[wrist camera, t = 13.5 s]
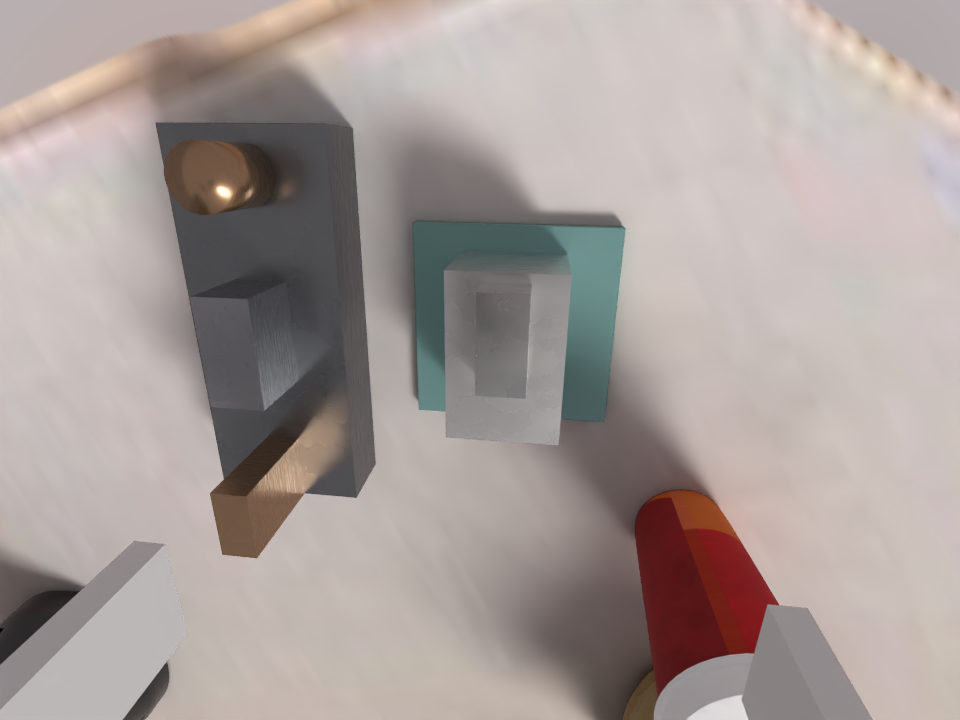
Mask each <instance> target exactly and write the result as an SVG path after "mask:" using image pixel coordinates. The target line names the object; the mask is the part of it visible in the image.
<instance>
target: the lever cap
mask: <svg viewBox="0 0 960 720" xmlns="http://www.w3.org/2000/svg"><path fill="white" fill-rule="evenodd" d="M571 279H572V274H571V269H570V264H569V259H568V254H563V253H533V252H502V251H472V250H463V251H462V252H461V253H460V254H459V255H458V256H457V257H456V258H455V259H454V260H453V261H452V263H451V264H450V265H449V266H448V267H447V268H446V269H445V270H444V316H445V399H446V437H449V438H463V439H476V440H490V441H504V442H518V443H531V444H545V445H559V436H560V423H561V410H562V397H563V384H564V370H565V357H566V344H567V331H568V318H569V305H570V292H571Z"/></svg>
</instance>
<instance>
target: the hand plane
mask: <svg viewBox="0 0 960 720" xmlns="http://www.w3.org/2000/svg"><path fill="white" fill-rule="evenodd" d="M156 128H157V133H158V138H159V143H160V148H161V154H162V159H163V164H164V176H165V181H166V184H167V187H168V190H169V195H170V200H171V206H172V211H173V216H174V221H175V227H176V232H177V237H178V242H179V247H180V253H181V258H182V263H183V268H184V273H185V279H186V284H187V289H188V294H189V299H190V305H191V310H192V315H193V320H194V325H195V331H196V336H197V341H198V346H199V352H200V357H201V362H202V367H203V372H204V378H205V383H206V388H207V393H208V398H209V404H210V409H211V414H212V419H213V424H214V430H215V435H216V440H217V445H218V450H219V456H220V461H221V466H222V471H223V477H224V480H223V481H222V482H221V483H220V484H219V485H218V486H217V487H216V488H215V489H214V490H213V491H212V492H211V493H210V496H211V501H212V506H213V511H214V516H215V520H216V525H217V530H218V535H219V540H220V545H221V550H222V554H223V555H231V556H241V557H251V558H257V557H258V556H259V555H260V553H261V552H262V551H263V549H264V548H265V546H266V545H267V544H268V542H269V541H270V540H271V538H272V537H273V536H274V534H275V533H276V531H277V530H278V529H279V527H280V526H281V525H282V523H283V522H284V521H285V519H286V518H287V516H288V515H289V514H290V512H291V511H292V510H293V508H294V507H295V505H296V504H297V503H298V501H299V500H300V499H301V497H302V496H303V495H304V493H310V494H321V495H332V496H344V497H355V498H357V496H358V494H359V492H360V491H361V489H362V487H363V485H364V483H365V482H366V480H367V478H368V476H369V475H370V473H371V471H372V469H373V468H374V466H375V449H374V435H373V420H372V405H371V391H370V376H369V362H368V347H367V332H366V318H365V303H364V289H363V274H362V259H361V245H360V230H359V216H358V201H357V186H356V172H355V157H354V143H353V128H348V127H342V126H335V125H329V124H293V123H156Z"/></svg>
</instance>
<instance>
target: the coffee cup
mask: <svg viewBox="0 0 960 720" xmlns="http://www.w3.org/2000/svg"><path fill="white" fill-rule="evenodd" d="M635 537H636V546H637V554H638V562H639V569H640V577H641V584H642V591H643V598H644V605H645V612H646V619H647V626H648V633H649V640H650V647H651V654H652V661H653V668H654V675H655V682H656V689H657V696H658V700H657V702H656V705H655V709H654V720H748V717H747V714H746V711H745V708H744V706H743V703H742V700H741V699H742V696H743V692H744V689H745V685H746V681H747V678H748V674H749V670H750V667H751V663H752V659H753V656H754V652H755V648H756V645H757V641H758V638H759V634H760V630H761V627H762V623H763V619H764V616H765V612H766V608H767V605H768V604H769V605H779V604H778V602H777V601H776V599H775V597H774V596H773V594H772V592H771V591H770V589H769V587H768V586H767V584H766V582H765V581H764V579H763V577H762V576H761V574H760V572H759V571H758V569H757V567H756V566H755V564H754V562H753V561H752V559H751V557H750V556H749V554H748V552H747V551H746V549H745V548H744V546H743V544H742V543H741V541H740V539H739V538H738V536H737V535H736V533H735V531H734V530H733V528H732V526H731V525H730V523H729V522H728V520H727V519H726V517H725V516H724V514H723V513H722V511H721V510H720V508H719V507H718V506H717V505H716V504H715V503H714V502H713V501H712V500H711V499H710V498H708V497H707V496H705V495H703V494H700V493H698V492H694V491H690V490H672V491H667V492H664V493H661V494H658V495H656V496H655V497H653V498H651V499H650V500H649V501H647V502H646V503H645V504H644V505H643V506H642V508H641V509H640V511H639V512H638V515H637V517H636V521H635Z"/></svg>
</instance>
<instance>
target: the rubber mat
mask: <svg viewBox="0 0 960 720" xmlns="http://www.w3.org/2000/svg"><path fill="white" fill-rule="evenodd" d="M624 237H625V228H624V227H615V226H579V225H542V224H506V223H469V222H432V221H415V222H413V246H414V277H415V307H416V338H417V369H418V400H419V410H434V411H446V399H445V316H444V270H445V269H446V268H447V267H448V266H449V265H450V264H451V263H452V261H453V260H454V259H455V258H456V257H457V256H458V255H459V254H460V253H461V252H462V251H463V250H472V251H502V252H533V253H563V254H568V259H569V264H570V269H571V274H572V279H571V292H570V305H569V318H568V331H567V344H566V357H565V370H564V384H563V397H562V410H561V419H568V420H582V421H597V422H604V418H605V409H606V400H607V391H608V382H609V372H610V363H611V354H612V345H613V336H614V327H615V318H616V309H617V300H618V291H619V282H620V273H621V264H622V255H623V246H624Z"/></svg>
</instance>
